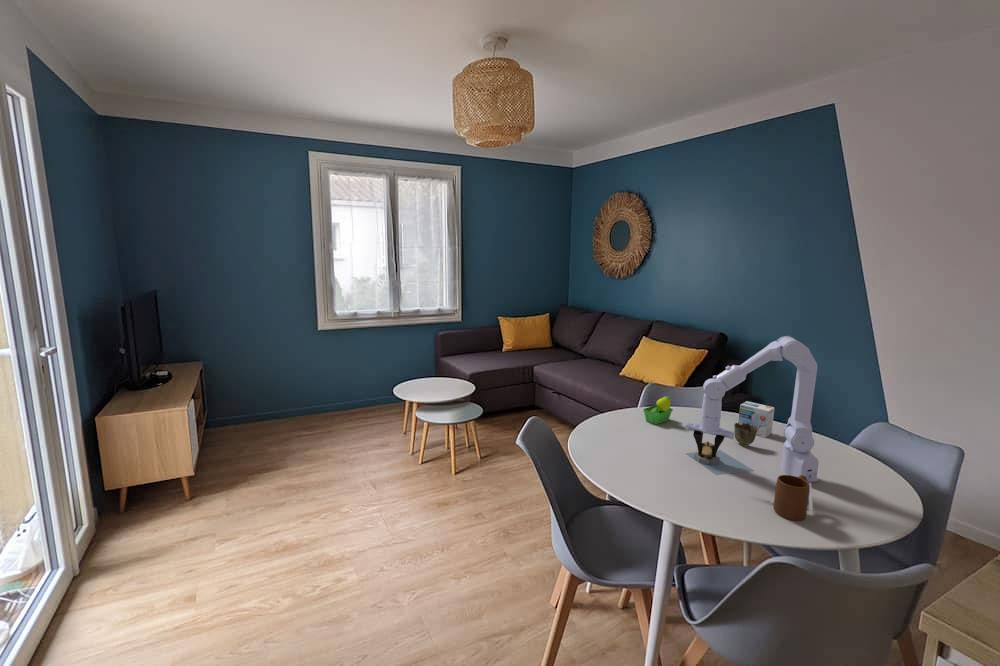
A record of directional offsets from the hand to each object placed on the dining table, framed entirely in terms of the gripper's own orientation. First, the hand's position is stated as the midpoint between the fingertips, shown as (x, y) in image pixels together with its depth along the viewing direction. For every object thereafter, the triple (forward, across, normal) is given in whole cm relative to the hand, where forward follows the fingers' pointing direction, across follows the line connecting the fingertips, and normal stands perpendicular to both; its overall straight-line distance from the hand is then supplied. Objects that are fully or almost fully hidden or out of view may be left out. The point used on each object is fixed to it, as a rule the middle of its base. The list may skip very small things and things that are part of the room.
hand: (707, 454), depth 157 cm
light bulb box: (+3, -11, -41) cm, 43 cm away
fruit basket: (+3, +23, -32) cm, 40 cm away
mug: (+3, -25, +19) cm, 31 cm away
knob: (+1, 0, 0) cm, 1 cm away
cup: (+3, -9, -22) cm, 24 cm away
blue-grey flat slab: (+3, -4, -1) cm, 5 cm away
